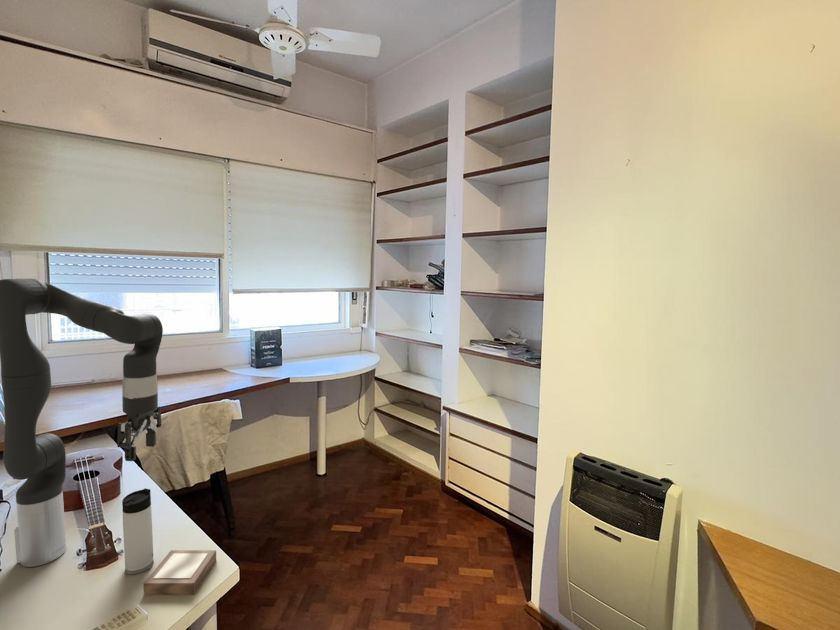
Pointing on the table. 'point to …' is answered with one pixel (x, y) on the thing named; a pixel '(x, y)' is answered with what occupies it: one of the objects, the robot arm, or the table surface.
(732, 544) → the table surface
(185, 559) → the plinth
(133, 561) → the travel mug
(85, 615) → the table surface
